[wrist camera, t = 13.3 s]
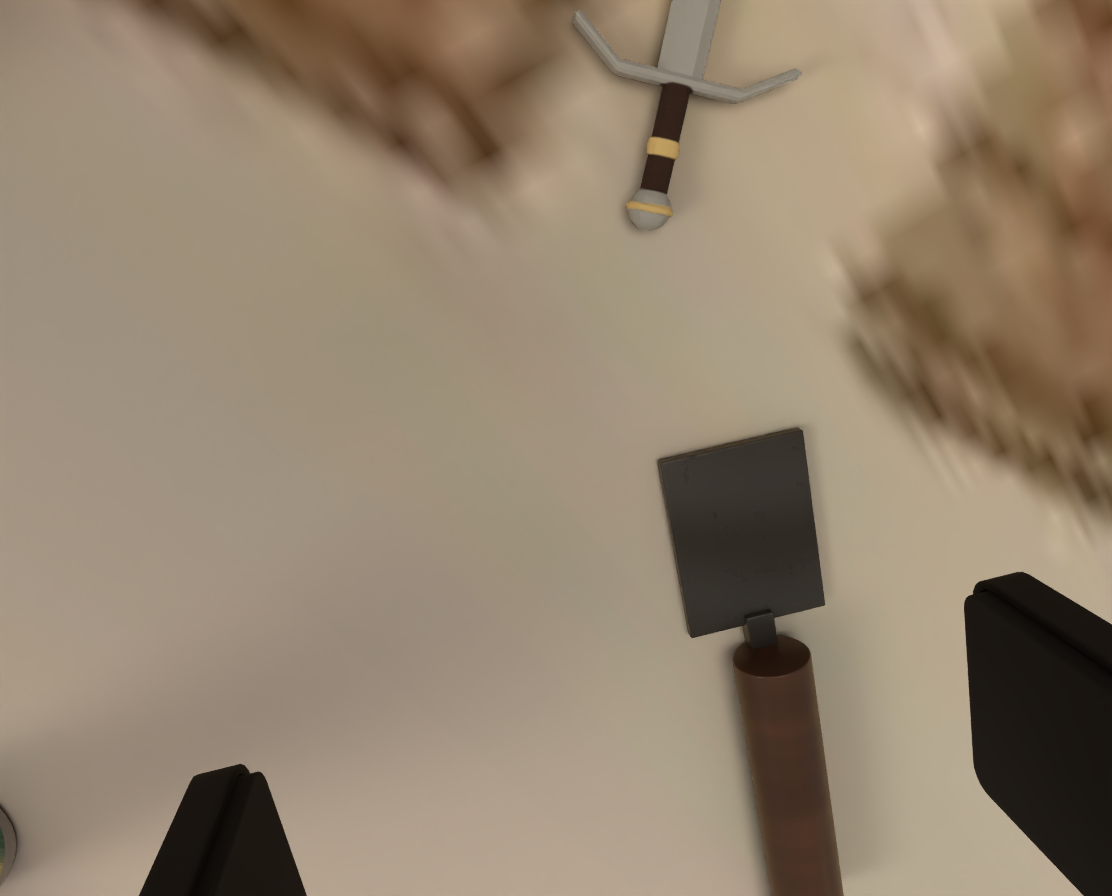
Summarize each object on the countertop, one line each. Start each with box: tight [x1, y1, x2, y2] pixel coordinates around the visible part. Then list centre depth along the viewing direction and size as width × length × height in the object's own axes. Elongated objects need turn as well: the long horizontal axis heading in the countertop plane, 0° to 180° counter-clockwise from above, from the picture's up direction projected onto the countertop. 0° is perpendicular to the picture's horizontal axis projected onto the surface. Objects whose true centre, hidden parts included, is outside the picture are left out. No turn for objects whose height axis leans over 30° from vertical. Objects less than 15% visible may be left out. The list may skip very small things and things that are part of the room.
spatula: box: [658, 428, 844, 896], centre depth 36 cm, size 23×6×3 cm, turn 12°
